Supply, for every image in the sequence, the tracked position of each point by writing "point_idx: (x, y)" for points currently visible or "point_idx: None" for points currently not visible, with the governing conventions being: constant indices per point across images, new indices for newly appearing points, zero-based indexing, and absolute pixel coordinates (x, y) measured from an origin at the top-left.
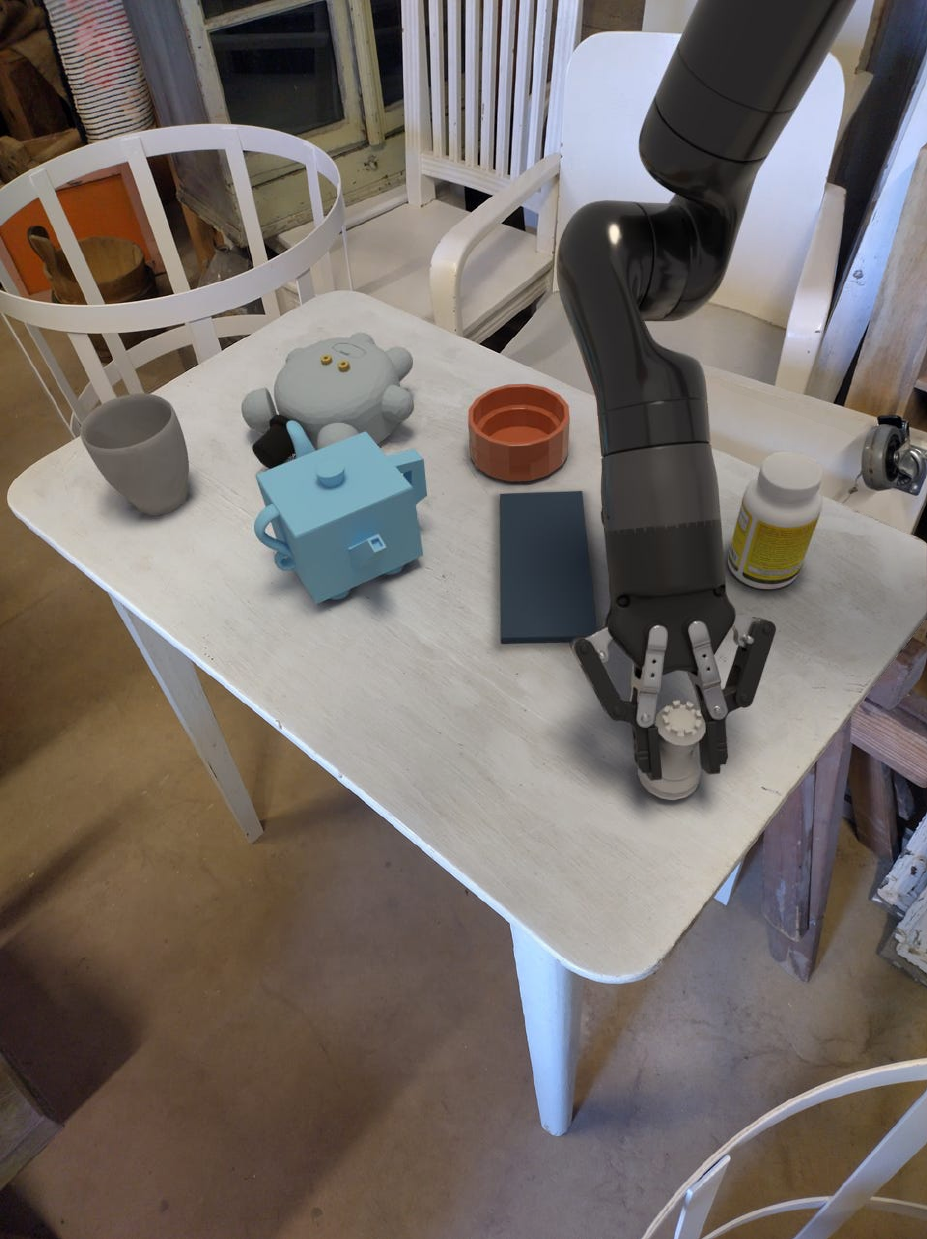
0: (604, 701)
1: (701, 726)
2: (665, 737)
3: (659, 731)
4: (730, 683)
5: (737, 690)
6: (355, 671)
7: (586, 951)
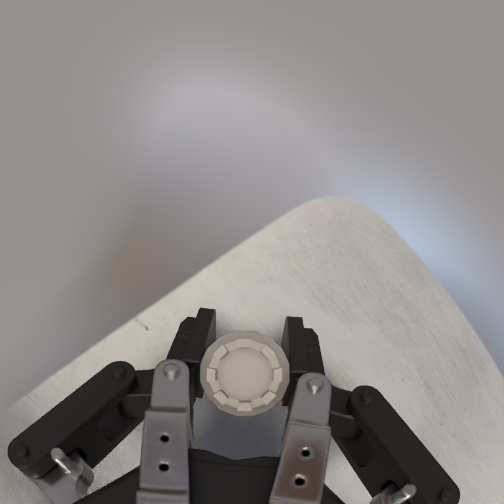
0: (393, 414)
1: (212, 353)
2: (281, 351)
3: (288, 365)
4: (130, 419)
5: (123, 389)
6: (487, 482)
7: (367, 212)
